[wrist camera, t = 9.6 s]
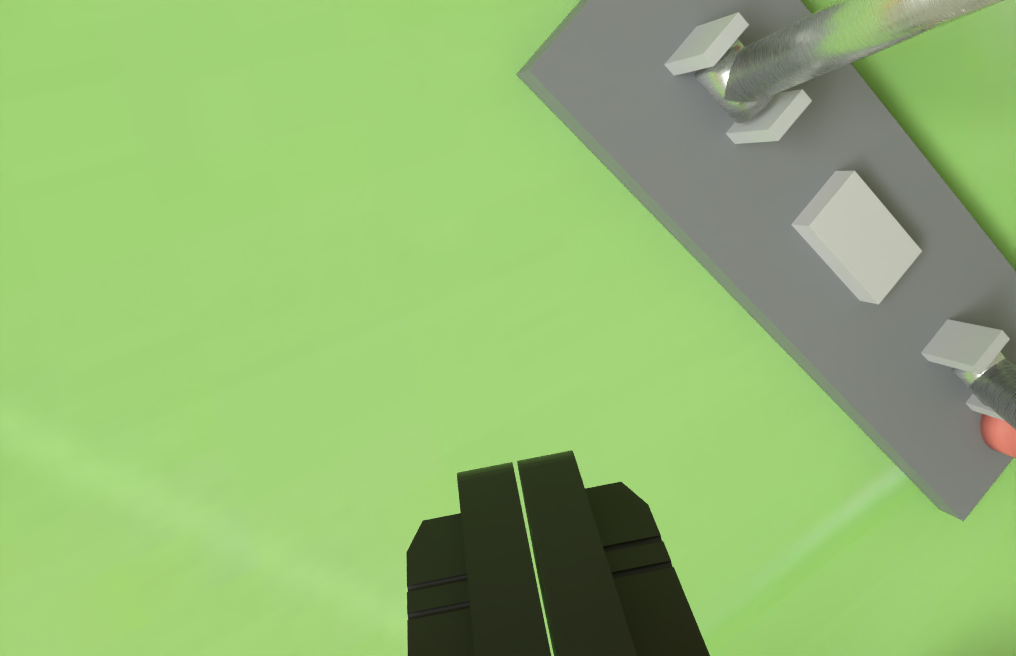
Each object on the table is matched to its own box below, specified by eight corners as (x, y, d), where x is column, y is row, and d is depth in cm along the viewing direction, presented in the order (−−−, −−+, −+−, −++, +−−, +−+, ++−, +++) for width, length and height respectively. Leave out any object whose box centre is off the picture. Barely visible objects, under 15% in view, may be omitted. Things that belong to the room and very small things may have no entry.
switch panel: (939, 509, 43) (1016, 546, 39) (516, 74, 33) (556, 59, 29) (1060, 356, 44) (1149, 375, 39) (680, -115, 34) (743, -157, 30)
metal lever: (726, 153, 33) (1259, -33, 19) (666, 87, 32) (1184, -169, 17) (766, 90, 35) (1298, -132, 20) (710, 24, 33) (1230, -266, 19)
